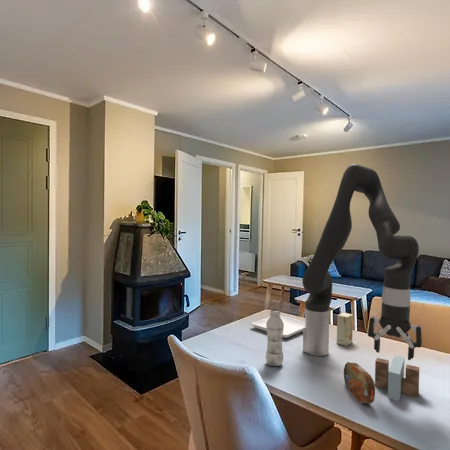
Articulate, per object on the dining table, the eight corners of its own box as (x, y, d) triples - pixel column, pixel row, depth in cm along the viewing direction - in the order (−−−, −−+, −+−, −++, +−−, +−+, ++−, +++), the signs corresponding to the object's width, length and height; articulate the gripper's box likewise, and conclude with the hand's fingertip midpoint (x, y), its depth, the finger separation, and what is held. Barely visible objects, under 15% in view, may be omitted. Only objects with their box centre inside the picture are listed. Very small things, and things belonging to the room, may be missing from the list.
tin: (342, 383, 108) (343, 357, 107) (351, 382, 108) (352, 357, 108) (366, 410, 93) (366, 380, 92) (376, 409, 93) (377, 380, 93)
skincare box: (345, 346, 138) (346, 317, 137) (336, 343, 141) (336, 315, 141) (352, 342, 142) (353, 314, 142) (343, 339, 145) (343, 312, 145)
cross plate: (399, 401, 97) (399, 374, 97) (387, 398, 99) (388, 371, 99) (403, 381, 109) (404, 357, 109) (393, 378, 110) (394, 355, 110)
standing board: (374, 385, 106) (375, 361, 106) (376, 381, 108) (377, 357, 108) (418, 397, 99) (418, 371, 99) (418, 392, 102) (419, 367, 102)
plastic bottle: (284, 362, 123) (285, 308, 122) (281, 370, 116) (282, 313, 116) (267, 359, 125) (268, 306, 124) (263, 367, 118) (264, 311, 118)
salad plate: (286, 342, 143) (286, 334, 143) (250, 329, 158) (250, 322, 158) (313, 331, 157) (313, 323, 157) (278, 320, 173) (278, 313, 172)
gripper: (424, 303, 98) (421, 357, 99) (372, 295, 106) (370, 345, 107) (422, 309, 92) (419, 366, 92) (367, 300, 100) (365, 353, 100)
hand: (393, 355), depth 99 cm, fingers open, 8 cm apart
